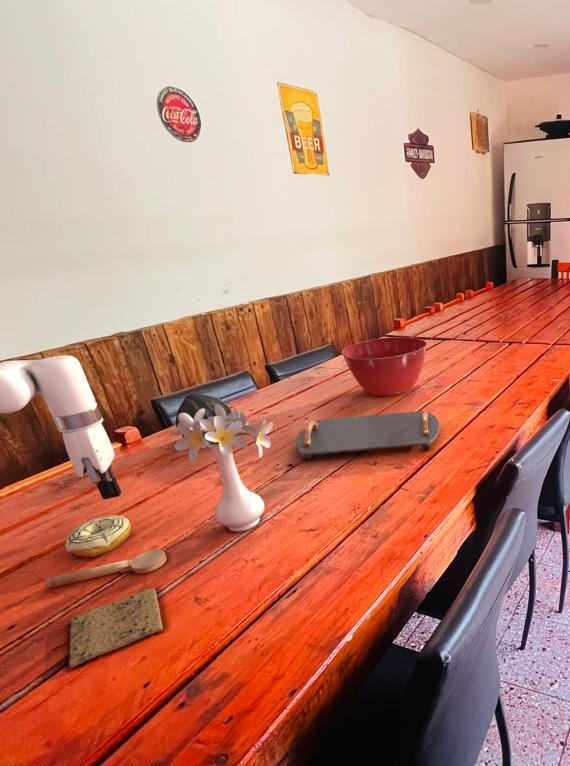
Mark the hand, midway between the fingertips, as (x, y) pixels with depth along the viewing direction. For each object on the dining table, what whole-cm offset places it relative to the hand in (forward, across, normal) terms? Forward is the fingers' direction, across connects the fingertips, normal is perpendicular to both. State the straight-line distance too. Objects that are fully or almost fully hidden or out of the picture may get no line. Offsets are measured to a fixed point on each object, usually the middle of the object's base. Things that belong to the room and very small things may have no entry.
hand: (112, 496), depth 110 cm
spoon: (+4, +24, +4) cm, 25 cm away
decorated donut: (+4, +12, 0) cm, 13 cm away
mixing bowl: (+5, -51, +72) cm, 88 cm away
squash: (+4, -35, +16) cm, 39 cm away
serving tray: (+5, -12, +58) cm, 59 cm away
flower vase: (+5, +17, +27) cm, 32 cm away
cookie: (+4, +40, +8) cm, 41 cm away
